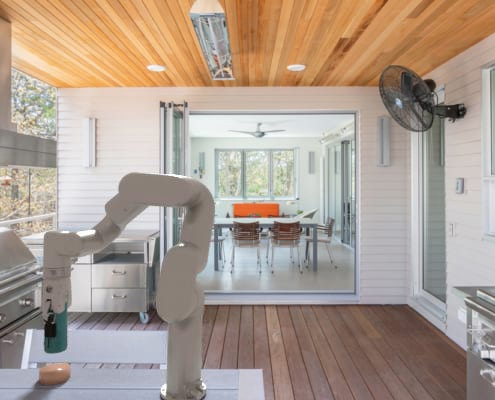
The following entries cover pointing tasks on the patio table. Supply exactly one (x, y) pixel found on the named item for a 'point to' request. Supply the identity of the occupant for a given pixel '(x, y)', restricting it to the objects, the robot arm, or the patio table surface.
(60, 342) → the beverage bottle
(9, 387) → the patio table surface
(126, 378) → the patio table surface
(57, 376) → the tan rounded flat piece
